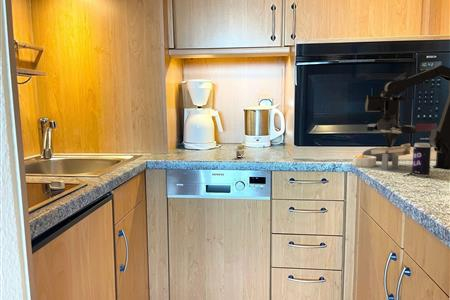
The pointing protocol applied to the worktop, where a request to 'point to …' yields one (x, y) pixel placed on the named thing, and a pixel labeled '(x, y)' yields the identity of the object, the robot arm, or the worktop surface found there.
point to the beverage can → (421, 159)
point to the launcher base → (386, 167)
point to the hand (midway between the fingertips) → (389, 148)
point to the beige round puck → (364, 161)
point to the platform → (240, 150)
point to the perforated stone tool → (378, 156)
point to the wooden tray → (394, 150)
